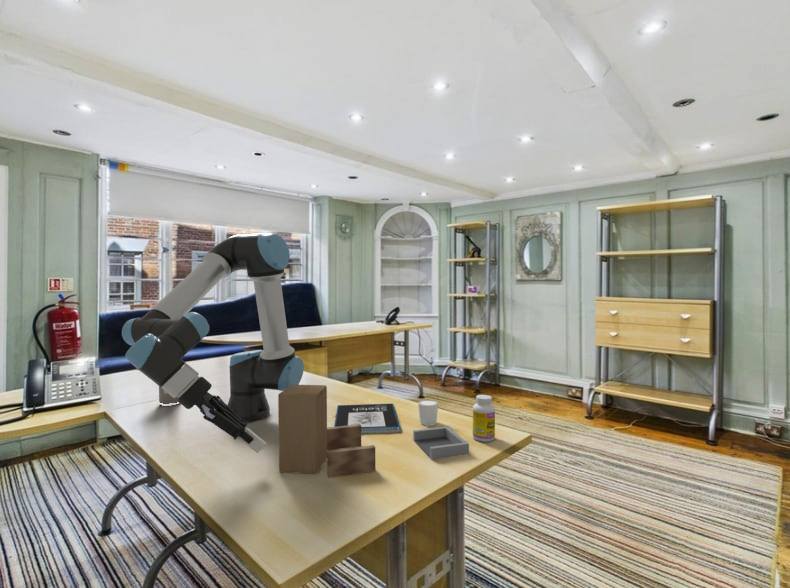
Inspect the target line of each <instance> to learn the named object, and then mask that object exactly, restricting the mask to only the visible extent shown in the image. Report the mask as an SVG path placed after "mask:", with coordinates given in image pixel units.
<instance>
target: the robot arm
mask: <svg viewBox="0 0 790 588" xmlns="http://www.w3.org/2000/svg"><path fill="white" fill-rule="evenodd" d="M290 258H291V255H290V250H289V245H288V243H287V242H286V240H285V239H284V238H283V236H281V235H280V234H277V233H274V232H273V233H271V232H261V233H247V234H245V233H244V234H243V233H242V234H241V233H240V234H234V235H232V236H230V237H229V236H228V237H227V238H225V239H224V240H222V241H221V242H219V243H217V244H216V245H214V247H212V248H211V249H210V250H209V251H208V252H206V253H205V254H204V256H203V257H202V262H200V264H199V265H197V266H196V267H195V268H194V269H193V270H192V271H191V272H190V273H189V274H188V275H187V276H186V277H184V278H183V279H182V280H181V281H180V282H179V283H178V284H177V285H176V286H175V287H174V288H173V289H172V290H170V291H169V292H168V293H167V294H166V295H165V296H164V297H163V298H162V299H161V300H159V302H157V303H156V304H155V305H154V306H153V307H152V308H151V309H150V310H148V312H147V313H145V315H143V316H142V317H135V318H131V319H128V320H126V322H125V323H124V324H123V326H122V328H121V337H122V338H123V341H124V342H125V343H126V344H128V345H129V346H130V347H129V349H128V350H127V351H126V352H125V359H126V360H127V361H128V362H129V363H130V364H131V365H132V366H133V367H135V368H136V370H137V371H140V372H141V373H142V374H143V375H145V376H146V377H147V378H148V379H150V380H151V381H152V382H153V383H155V384H156V385H157V386H158V387H159V386H160V387H161V388H162V389H163V390H164V391H163V392H164V393H165V394H167V393H168V394H170V395H171V396H172V397H173V398H176V397H178V399H177V400H178V402H179V403H180V404H179V405H182V406H183V407H184V408H185V409H186V410H190V409H192V408H193V407H194V406H196V407H197V408H198V409H199V411H200V413H201V414H203V416H202V418H203V419H204V420H206V421H207V422H210V423H211V424H213V425H215V426H216V427H218V429H221V431H223V432H225V433H226V434H227V435H229V436H230V437H232V438H233V440H234V441H235V440H237V439H239V440H241V441H242V442H244V443H245V444H246V445H247V446H249V447H250V449H252V450H253V451H254V452H256V453H257V454H258V453H259V452H260V451H261V450H262V449H263V448H264V447H265V446H266V441H264V439H262V438H261V437H260V436H259V435H257V434H256V433H255V432H254V431H253V430H251V429H250V428H249V427H247V425H248V424H249V423H248V422H249V421H250V422H254V421H255V422H256V421H259V420H262V419H265V418H267V417H268V416H270V414H271V413H270V412H271V407H270V404H269V402H268V398H267V396H266V393H265V391H266V390H271V391H272V390H274V391H279V392H282V391H284V390H285V389H286V388H288V387H289V386H291V385H300V382H301V381H302V378H303V375H304V371H305V370H304V368H305V365H304V361H303V359H302V358H301V357H300V356H296V352H295V351H296V350H295V348H294V347H292V346H291V345H290V342H289V334H288V326H287V319H286V318H287V317H286V312H285V311H286V309H285V303H284V296H283V289H282V288H283V287H282V277H283V275H284V274H285V269H286V268H287V267H288V266H289V264H290ZM241 270H243V271H244V270H245V271H246V273H247V278H249V279H250V280H251V281H253V286H254V292H255V293H254V294H255V301H256V306H257V307H256V308H257V313H258V314H257V315H258V320H259V326H260V327H259V328H260V334H261V339H262V340H261V341H262V347H263V349H256V350H247V351H242V352H237V353H234V354H232V355H231V357H230V358H229V392H230V396H229V399H228V402H227V403H225V401H223V399H222V398H221V396H219V395H215V394H214V395H213V394H211V393H210V392H209V391H210V389H211V388H212V383H210V381H208V380H207V379H206V378H205V377H204V376H199V372H198V371H197V370H195V369H194V368H193V367H191V366H190V365H189V364H188V363H187V362H186V361H184V360H183V358H184V357H185V355H187V354H188V353H189V352H190V351H192V349H193V348H194V347H196V346H197V345H198V344H199V343H200V342H202V341H203V339H204V338H205V337H206V336H207V335H208V334H209V332H210V324H209V323H208V320H207V319H206V317H204V316H203V315H201V314H200V313H198V312H196V311H192V309H193V308H195V306H196V305H198V303H199V302H200V301H201V300H202V299H203V298H204V297H205V296H206V295H207V294H208V293H209V292H210V291H211V290H212V289H213V288H214V287H215V286H216V285H217V284H218V283H219V282H220V281H221V279H225V278H229V276H230V275H231V274H232V273H234V272H236V271H241ZM180 368H181V369H180ZM179 369H180V370H179ZM178 370H179V371H178ZM177 371H178V372H177ZM176 372H177V373H176ZM175 373H176V374H175ZM174 374H175V375H174ZM173 375H174V376H173ZM172 376H173V377H172ZM171 377H172V378H171ZM170 378H171V379H170ZM169 379H170V380H169ZM168 380H169V381H168Z"/></svg>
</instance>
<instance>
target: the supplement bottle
mask: <svg viewBox="0 0 790 588" xmlns="http://www.w3.org/2000/svg"><path fill="white" fill-rule="evenodd" d="M475 401H476V403H475V404H474V405H472V438H473V439H474V440H475V441H477V442H483V443H489V442H492V441H494V440H495V438H496V437H495V436H496V408H495V406H494V405H493V404H492V403H493V402H492V401H493V397H492V396H491V395H488V394H478V395H476V397H475Z"/></svg>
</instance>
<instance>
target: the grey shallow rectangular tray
mask: <svg viewBox="0 0 790 588" xmlns="http://www.w3.org/2000/svg"><path fill="white" fill-rule="evenodd" d="M412 432H413V434H412V436H413V437H412V438H413V439H412V440H413V442H414V443H415V444H416V445H417V446H418V447H419V448H420V449H421V450H422V452H424V454H426V456H427V457H428V458H429V459H430V460H438V459H444V458H445V459H446V458H447V459H448V458H452V457H460V456H461V457H462V456H468V455H469V454H470V443H469V442H468V441H466V440H465V439H464V438H462V437H461V436H460V435H459V434H458V433H456V432H455V431H454V430H453V429H451V428H450V427H449V426H439V427H431V428H422V429H414V430H412Z"/></svg>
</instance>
